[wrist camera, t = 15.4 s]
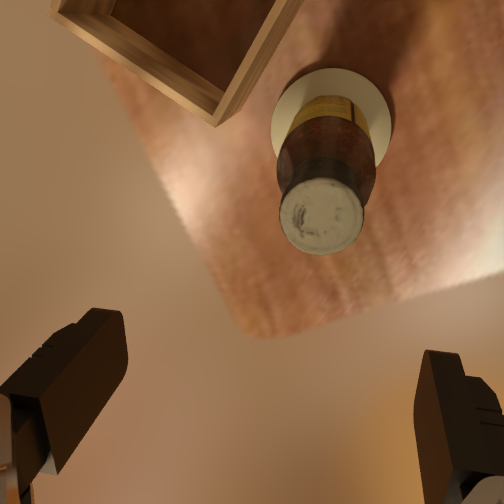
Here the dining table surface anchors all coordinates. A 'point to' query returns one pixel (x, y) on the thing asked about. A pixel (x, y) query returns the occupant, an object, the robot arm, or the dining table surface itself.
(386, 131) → the saucer
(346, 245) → the sauce bottle
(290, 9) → the caddy
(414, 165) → the dining table surface
